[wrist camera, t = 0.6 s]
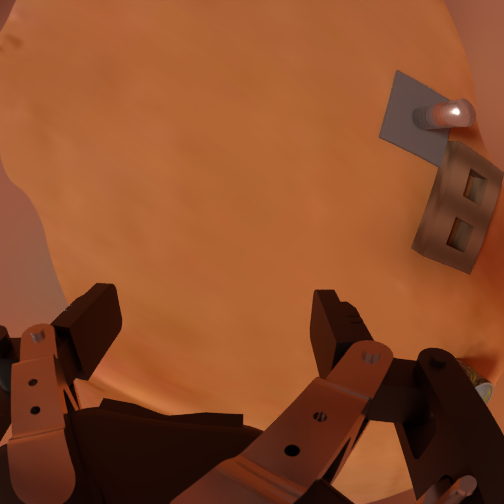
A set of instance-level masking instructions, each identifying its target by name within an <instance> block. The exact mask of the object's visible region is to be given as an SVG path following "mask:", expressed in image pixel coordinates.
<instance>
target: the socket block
mask: <svg viewBox="0 0 504 504" xmlns="http://www.w3.org/2000/svg"><path fill="white" fill-rule="evenodd" d="M469 174H470V175H471V176H473V177H474V179H473V183H472V186H471V190H470V193H469V196H468V199H467V198H466V197H464V196H463V193H464V190H465V187H466V183H467V180H468V176H469ZM503 175H504V172H502V171H501V170H500V169H498V168H497V167H496V166H495V165H493V164H492V163H491V162H489V161H488V160H486V159H485V158H484V157H482V156H481V155H479V154H478V153H477V152H475V151H474V150H472V149H471V148H469V147H468V146H466V145H465V144H463V143H462V142H460V141H447V144H446V148H445V152H444V156H443V159H442V163H441V167H439V168H438V172H437V175H436V178H435V182H434V185H433V188H432V191H431V194H430V197H429V200H428V203H427V206H426V209H425V212H424V215H423V218H422V220H421V223H420V226H419V229H418V231H417V234H416V237H415V239H414V242H413V244H412V247H411V248H412V249H413V250H415V251H416V252H418V253H419V254H421V255H422V256H424V257H427V258H430V259H432V260H435V261H437V262H440V263H442V264H445V265H447V266H450V267H452V268H455V269H457V270H460V271H462V272H465V273H467V274H470V273H471V271H472V269H473V266H474V264H475V261H476V259H477V256H478V254H479V251H480V249H481V246H482V243H483V241H484V238H485V235H486V232H487V230H488V227H489V224H490V221H491V218H492V215H493V211H494V208H495V205H496V201H497V198H498V194H499V191H500V187H501V183H502V179H503ZM455 218H456V219H458V220H460V224H459V226H458V229H457V232H456V235H455V237H454V240H453V243H452V245H448V244H446V243H447V240H448V237H449V235H450V232H451V229H452V226H453V224H454V221H455Z"/></svg>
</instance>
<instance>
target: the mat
mask: <svg viewBox="0 0 504 504" xmlns="http://www.w3.org/2000/svg"><path fill="white" fill-rule="evenodd" d="M448 101H450V100H448V99H447V98H445V97H444V96H442V95H440V94H439V93H437V92H435V91H434V90H432V89H430V88H429V87H427V86H425V85H424V84H422V83H420V82H418V81H417V80H415V79H413V78H411V77H409V76H407V75H406V74H404V73H402V72H400V71H398V70H397V71H396V74H395V78H394V83H393V87H392V91H391V95H390V98H389V102H388V106H387V110H386V114H385V117H384V121H383V124H382V128H381V131H380V135H379V138H381V139H384V140H386V141H388V142H390V143H392V144H394V145H396V146H398V147H401V148H403V149H405V150H407V151H409V152H411V153H413V154H415V155H417V156H419V157H420V158H422V159H424V160H426V161H428V162H430V163H432V164H434V165H435V166H437V167H441V163H442V159H443V156H444V152H445V148H446V144H447V140H448V136H449V132H450V128H438V129H426V130H421V129H418V128H417V127H416V126H415V125H414V123H413V121H412V113H413V111H414V110H415V109H416V108H420V107H424V106H429V105H433V104H438V103H443V102H448Z"/></svg>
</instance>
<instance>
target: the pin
mask: <svg viewBox="0 0 504 504" xmlns="http://www.w3.org/2000/svg"><path fill="white" fill-rule="evenodd" d="M475 117H476V116H475V110H474V108H473V106H472V104H471V103H470V102H469V101H468V100H466V99H458V100H453V101H448V102H443V103H438V104H433V105H429V106H424V107H420V108H416V109H415V110H414V111H413V113H412V121H413V123H414V125H415V126H416V127H417V128H418V129H421V130H426V129H438V128H453V127H470V126H472V125H473V124H474V122H475Z"/></svg>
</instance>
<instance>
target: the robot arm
mask: <svg viewBox="0 0 504 504" xmlns="http://www.w3.org/2000/svg"><path fill="white" fill-rule="evenodd" d="M121 327H122V316H121V311H120V306H119V301H118V295H117V290H116V287H115V285H114V284H106V283H96V284H95V285H94V286H93V287H92V288H91V289H90V290H89V291H88V292H86V293H85V294H84V295H82V296H80V297H78V298H77V299H76V300H74V301H73V302H72V303H71V304H70V306H68V307H67V308H66V309H65V311H63V312H62V313H61V314H60V315H59V316H58V317H57V318H56V319H55V320H54V321H53V322H52V323H51V324H50V325H49V324H37V325H34V326H31V327H29V328H28V329H27V330H25V331H24V332H23V334H22V336H21V338H10V337H9V334H8V331H7V329H6V328H5V327H4V326H1V325H0V441H1V440H2V438H3V436H4V434H5V433H6V431H7V429H8V428H9V426H10V424H11V423H12V438H11V439H9V440H8V443H7V444H5V445H3V446H1V447H0V504H354V503H353V502H352V501H350V500H349V499H348V498H347V497H345V496H344V495H343V494H342V493H340V492H339V491H338V490H336V489H335V488H334V487H333V486H332V483H333V482H334V480H335V479H336V477H337V476H338V474H339V473H340V471H341V469H342V467H343V466H344V464H345V462H346V460H347V459H348V457H349V456H350V454H351V452H352V451H353V449H354V448H355V446H356V444H357V443H358V441H359V439H360V438H361V436H362V434H363V433H364V431H365V429H366V427H367V426H368V424H369V422H370V420H374V421H383V422H392V423H394V425H395V428H396V431H397V435H398V438H399V441H400V444H401V447H402V450H403V454H404V457H405V460H406V464H407V467H408V471H409V474H410V478H411V481H412V485H413V488H414V492H415V495H416V500H417V501H416V502H415V503H414V504H504V435H503V433H502V431H501V429H500V428H499V426H498V424H497V423H496V421H495V419H494V417H493V416H492V414H491V412H490V411H489V409H488V407H487V406H486V404H485V402H484V401H483V399H482V398H481V396H480V394H479V393H478V391H477V390H476V388H475V387H474V385H473V383H472V382H471V380H470V379H469V377H468V376H467V374H466V373H465V371H464V370H463V368H462V367H461V365H460V364H459V363H458V361H457V360H456V358H455V357H454V356H453V355H452V354H451V353H449V352H447V351H445V350H443V349H439V348H427V349H424V350H422V351H421V352H420V353H419V356H418V358H417V361H414V360H405V359H397V358H393V353H392V351H391V350H390V348H388V347H387V346H386V345H384V344H382V343H380V342H376V341H374V340H373V338H372V336H371V334H370V333H369V331H368V329H367V327H366V325H365V324H364V323H363V320H362V318H361V317H360V315H359V313H358V311H357V309H356V308H355V307H354V306H352V305H351V304H350V303H348V302H340V300H339V298H338V296H337V294H336V292H335V290H315V291H314V295H313V304H312V313H311V322H310V340H311V344H312V348H313V352H314V356H315V360H316V364H317V368H318V372H319V376H320V377H316V378H315V379H314V380H313V381H312V382H311V383H310V384H309V385H308V386H307V387H306V388H305V390H304V391H303V392H302V393H301V394H300V395H299V396H298V397H297V398H296V399H295V400H294V401H293V403H292V404H291V405H290V406H289V407H288V408H287V409H286V410H285V411H284V412H283V413H282V414H281V415H280V416H279V417H278V418H277V419H276V420H275V421H274V422H273V423H272V424H271V425H270V426H269V427H268V428H267V429H266V430H265V431H262V430H260V429H257V428H254V427H251V426H247V425H243V414H225V413H208V412H204V413H194V414H184V415H171V416H168V415H163V414H160V413H157V412H154V411H152V410H149V409H146V408H144V407H141V406H139V405H136V404H133V403H127V402H122V401H117V400H112V399H107V398H103V400H102V402H101V404H100V406H99V407H92V408H85V409H82V407H81V403H80V400H79V396H78V392H77V389H76V386H75V383H74V380H75V378H78V379H82V380H87V381H88V380H89V378H90V377H91V375H92V373H93V372H94V370H95V369H96V367H97V366H98V364H99V363H100V361H101V359H102V358H103V356H104V355H105V353H106V352H107V350H108V349H109V347H110V346H111V344H112V343H113V341H114V340H115V338H116V337H117V335H118V334H119V332H120V331H121Z"/></svg>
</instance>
